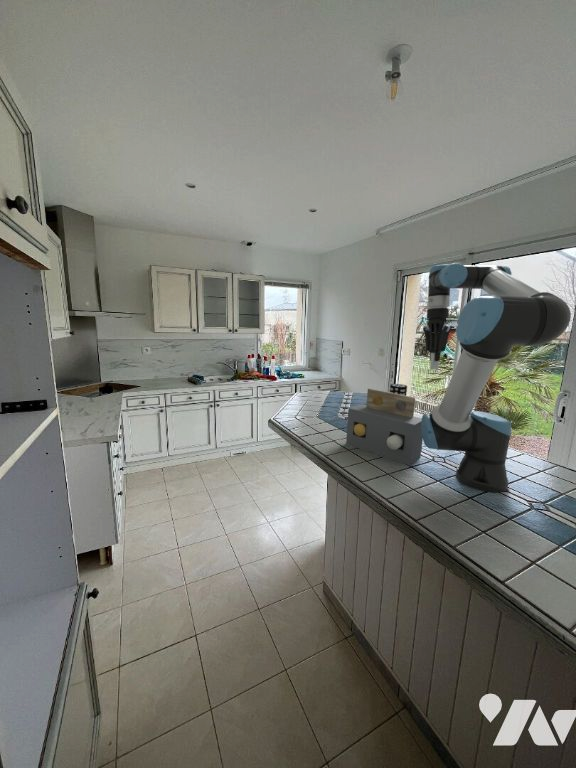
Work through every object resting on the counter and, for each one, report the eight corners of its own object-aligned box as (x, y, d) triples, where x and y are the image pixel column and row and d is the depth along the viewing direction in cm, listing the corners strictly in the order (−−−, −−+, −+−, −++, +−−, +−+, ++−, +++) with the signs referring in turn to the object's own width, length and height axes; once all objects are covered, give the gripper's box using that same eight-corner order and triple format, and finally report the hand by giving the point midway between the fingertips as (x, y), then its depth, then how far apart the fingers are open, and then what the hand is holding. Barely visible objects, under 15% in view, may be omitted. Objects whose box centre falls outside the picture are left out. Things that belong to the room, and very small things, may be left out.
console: (409, 465, 116) (414, 424, 113) (346, 443, 135) (348, 408, 132) (420, 457, 123) (425, 419, 120) (358, 438, 142) (361, 404, 139)
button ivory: (398, 451, 115) (400, 438, 114) (386, 447, 118) (387, 434, 117) (402, 448, 118) (404, 436, 117) (390, 444, 121) (391, 432, 120)
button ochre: (363, 437, 128) (364, 425, 127) (353, 434, 131) (354, 422, 130) (368, 435, 130) (369, 424, 129) (357, 432, 133) (358, 421, 132)
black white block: (404, 421, 167) (408, 385, 163) (401, 426, 160) (405, 387, 156) (389, 418, 171) (392, 383, 167) (384, 422, 164) (388, 385, 160)
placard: (411, 418, 120) (414, 398, 119) (365, 407, 134) (367, 388, 132) (413, 417, 121) (415, 397, 120) (367, 406, 135) (368, 388, 133)
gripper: (418, 309, 125) (415, 368, 128) (442, 306, 113) (438, 371, 116) (433, 309, 127) (430, 367, 131) (459, 306, 115) (454, 370, 118)
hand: (434, 369), depth 123 cm, fingers closed
